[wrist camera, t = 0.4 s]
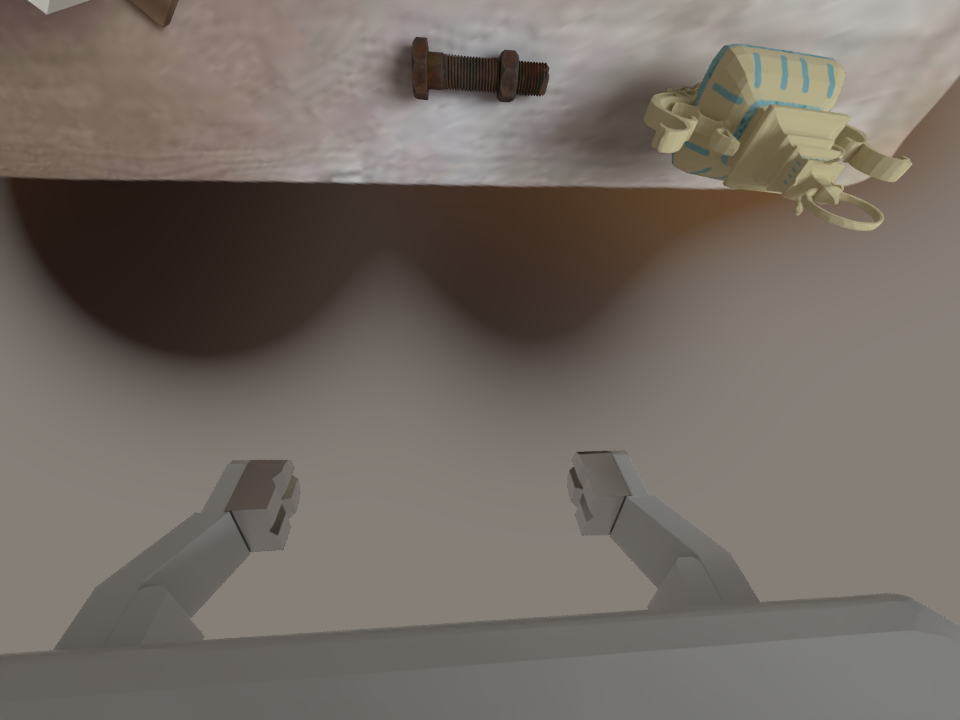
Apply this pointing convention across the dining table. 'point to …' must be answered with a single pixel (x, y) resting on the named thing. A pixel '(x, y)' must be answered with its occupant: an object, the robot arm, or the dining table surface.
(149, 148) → the dining table surface
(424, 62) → the bolt
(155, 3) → the pipe rig
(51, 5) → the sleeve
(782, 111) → the cream ornament
